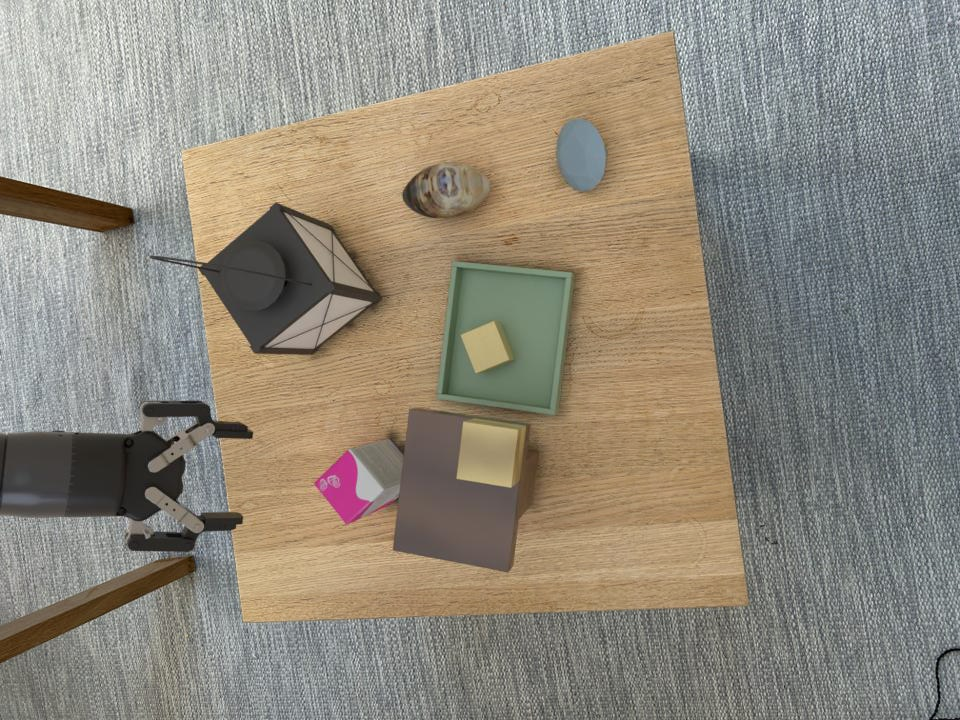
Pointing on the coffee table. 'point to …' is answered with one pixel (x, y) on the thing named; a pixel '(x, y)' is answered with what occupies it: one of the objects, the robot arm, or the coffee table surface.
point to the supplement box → (363, 480)
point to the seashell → (446, 190)
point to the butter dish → (508, 335)
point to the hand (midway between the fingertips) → (246, 475)
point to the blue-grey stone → (581, 154)
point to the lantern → (287, 282)
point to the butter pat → (487, 347)
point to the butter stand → (464, 488)
